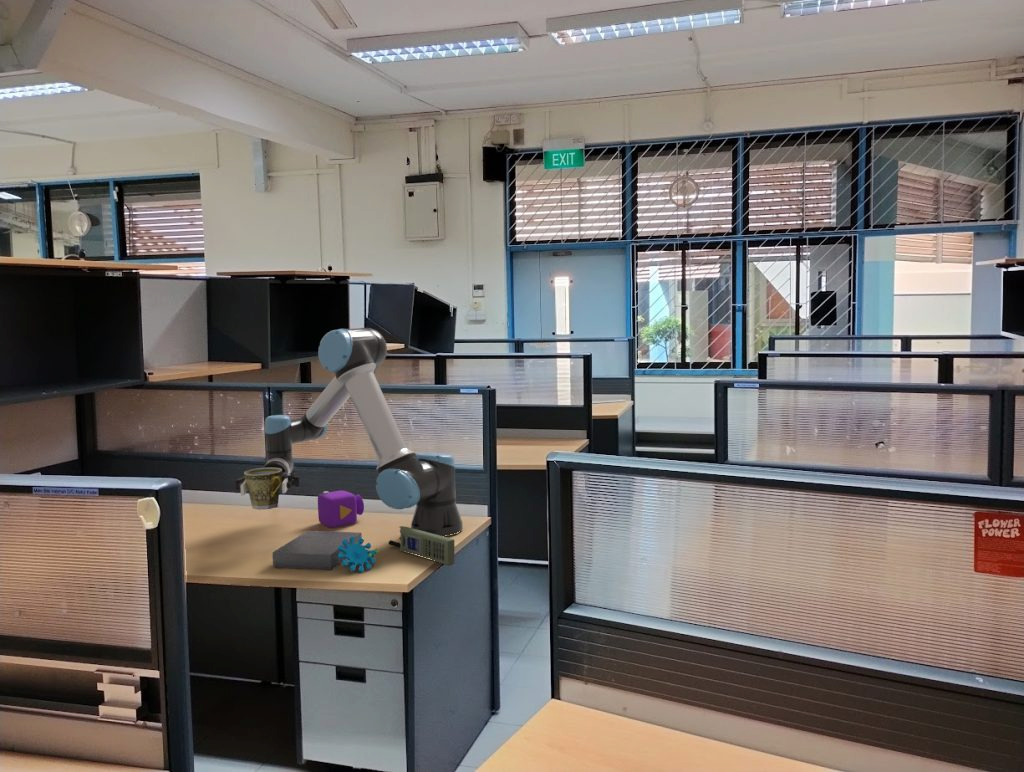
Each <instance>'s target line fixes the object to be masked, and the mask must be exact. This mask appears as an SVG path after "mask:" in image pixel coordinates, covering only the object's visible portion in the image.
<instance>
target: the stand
mask: <svg viewBox="0 0 1024 772" xmlns="http://www.w3.org/2000/svg"><path fill="white" fill-rule="evenodd" d="M351 537H355V538H356V539H355V541H354V542H353V543H354V544H357V543H358V540H359V539H360V538H362V537H363V535H362V532H355V531H354V532H352V531H348V532H347V531H329V530H327V531H326V530H307V531H305V532H303V533H302V534H300V535H299V536H297V537H295V538H293V539H292V540H290V541H289V542H287V543H285V544H284V545H281V547H279V548H277V549H275V550H274V551H272V568H273V567H278V568H277V569H293V568H295V570H296V569H298V570H312V571H313V570H316V571H332V570H334V569H335V568H337V567H338V566H339V565H340V564H342V563H341V562H343V560H345V558H341V559H339V558H338V554H339V553H340V552H341V553H343V554H344V555H345V553H344V552H342V551H339V550H338V547H339V546H340V545H343V544H342V541H343V540H345V539H347V540H348V543H347V544H348V545H351V542H350V538H351ZM362 539H363V538H362ZM360 545H361V546H363V543H362V544H360ZM343 547H344V549H346V547H345V545H343ZM337 565H338V566H337ZM334 567H335V568H334ZM333 568H334V569H333Z"/></svg>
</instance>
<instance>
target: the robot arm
mask: <svg viewBox="0 0 1024 772" xmlns="http://www.w3.org/2000/svg"><path fill="white" fill-rule="evenodd" d="M387 353H388V346H387V341H386V340H385V338H384V336H383V335H382V333H380V332H379V331H377V330H376V329H373V328H370V327H361V328H360V327H359V328H338V329H333V330H330V331H329V332H327V333H326V334H324V336H323V337H322V338H321V340H320V342H319V346H318V353H317V354H318V360H319V362H320V365H321V366H322V368H324V370H327V371H328V372H329V373H334V377H333V378H332V380H330V382H329V383H328V385H327V386H326V387H325V388H324V390H323V391H322V392H321V393H320V394H319V396H318V397H317V398H316V399H315V400H314V402H312V404H311V406H309V408H308V409H307V410H306V411H305V412H304V414H302V416H301V417H298V418H293V419H291V418H290V416H289V415H287V414H275V415H269V416H267V417H265V420H264V434H265V435H264V436H265V449H266V453H265V454H266V463H265V464H264V465H263V466H262V468H280V469H282V478H281V479H282V485H281V491H282V492H281V493H282V494H286V492H288V489H292V488H293V487H294V486H295V487H301V483H300V482H301V480H300V476H299V475H298V473H297V471H295V470H294V467H295V462H294V461H295V460H294V458H293V448H292V447H293V446H292V445H293V444H297V443H301V442H306V441H307V442H308V441H313V440H317V439H319V438H323V437H324V436H325V435H326V434H327V431H328V430H327V429H328V423H329V422H330V421H331V420H332V419H333V417H334V416H335V415H336V414H337V413H338V411H339V410H340V409H341V408H342V407H343V406H344V404H345V403H347V401H348V400H349V399H350V398H351V401H352V403H353V405H354V408H355V410H356V412H357V414H358V417H359V419H360V422H361V424H362V426H363V428H364V431H365V433H366V435H367V437H368V440H369V441H370V444H371V446H372V449H373V451H374V454H375V455H376V458H377V460H378V463H377V467H376V472H377V474H378V476H377V477H376V481H375V483H376V484H375V489H376V493H377V496H378V497H379V498H378V499H380V501H381V502H382V503H383V504H384V505H385V506H387V508H390V509H393V510H403V509H410V508H413V507H414V506H415V509H414V512H413V516H412V520H411V524H410V528H413V529H417V530H420V531H424V532H428V533H432V534H436V535H439V536H445V535H450V534H454V533H457V532H459V531H461V530H462V529H464V528H463V520H462V518H461V515H460V512H459V508H458V506H457V500H456V498H457V497H456V496H457V494H456V463H455V458H454V456H453V455H452V454H448V453H442V452H441V453H440V452H439V453H438V452H437V453H436V452H419V453H418V452H417V453H416V451H413V450H410V449H409V448H408V447H407V445H406V443H405V440H404V438H403V436H402V434H401V432H400V429H399V426H398V425H397V423H396V419H395V418H394V416H393V413H392V411H391V408H390V407H389V405H388V402H387V400H386V398H385V395H384V394H383V391H382V389H381V387H380V385H379V382H378V380H377V377H376V376H375V373H376V372H377V371H378V370H379V369H380V368H381V366H382V365H383V363H384V361H385V360H386V357H387ZM234 487H235V488H234V490H236V491H238V490H239V491H240V496H241V497H242V496H245V495H246V494H247V492H248V488H247V485H246V481H245V476H243V477H239V478H237V479H235V480H234ZM462 531H463V530H462ZM462 531H461V532H462Z"/></svg>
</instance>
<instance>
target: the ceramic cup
mask: <svg viewBox="0 0 1024 772" xmlns="http://www.w3.org/2000/svg"><path fill="white" fill-rule="evenodd" d="M243 474H244V476H245V481H246V485H247V488H248V491H247V492H248V495H249V499H250V503H251V507H252V509H254V510H258V511H259V510H260V511H264V510H272V509H275V508H277V506H278V505H279V497H280V490H281V489H280V488H282V479H281V478H282V469H280V468H263V467H258V468H253V469H250V470H245V471H244V473H243ZM244 476H243V477H244Z"/></svg>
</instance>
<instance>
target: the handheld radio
mask: <svg viewBox="0 0 1024 772" xmlns="http://www.w3.org/2000/svg"><path fill="white" fill-rule="evenodd" d="M398 527H399V529H400V530H399V533H400V534H399V540H400V541H399V542H397V541H395V540H389V541H388V545H390V546H392V547H395V548H400V549H399V551H400V550H401V551H406V552H409V553H413V554H417V555H420V556H423V557H426V558H430V559H432V560H435V561H436V562H435V561H434V562H435V563H439V564H443V565H445V566H452V565H455V539H454V538H451V537H448V536H446V537H443V536H439V535H436V534H432V533H428V532H424V531H420V530H417V529H413V528H411V527H408V526H403V525H400V526H398ZM401 551H400V552H401Z"/></svg>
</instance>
